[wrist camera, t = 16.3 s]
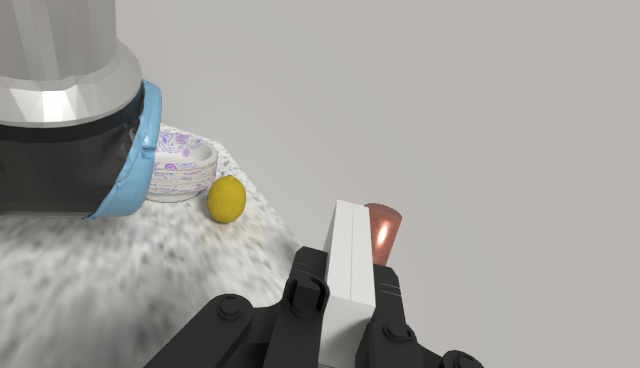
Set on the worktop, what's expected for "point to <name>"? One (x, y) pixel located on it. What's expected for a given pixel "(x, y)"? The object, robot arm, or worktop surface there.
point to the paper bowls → (181, 168)
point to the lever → (382, 232)
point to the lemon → (226, 199)
